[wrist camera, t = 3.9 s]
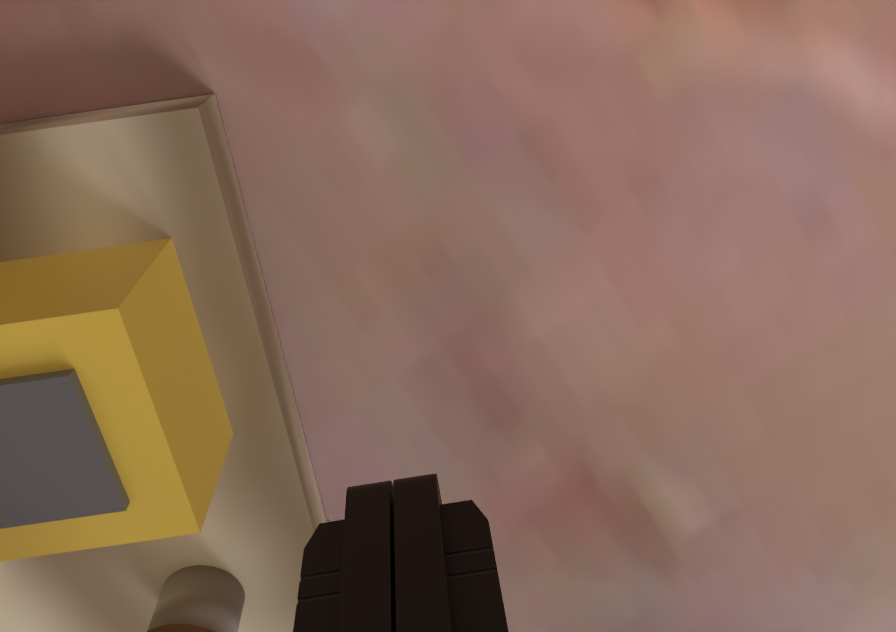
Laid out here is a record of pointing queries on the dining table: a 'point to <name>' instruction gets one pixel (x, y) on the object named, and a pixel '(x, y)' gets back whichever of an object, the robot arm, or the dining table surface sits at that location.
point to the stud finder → (104, 402)
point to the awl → (199, 601)
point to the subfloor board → (226, 339)
